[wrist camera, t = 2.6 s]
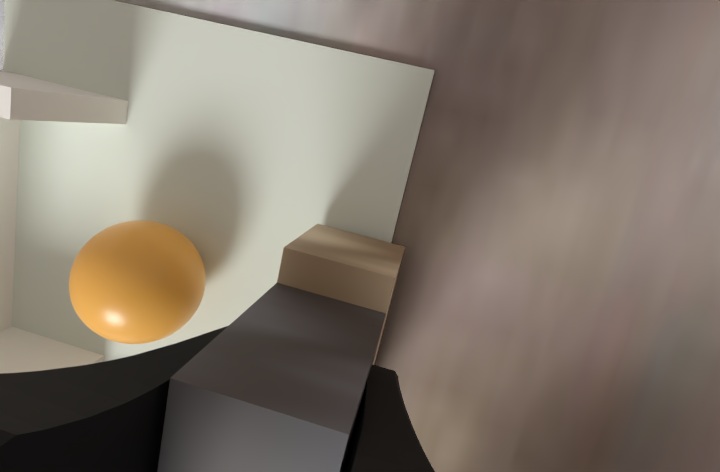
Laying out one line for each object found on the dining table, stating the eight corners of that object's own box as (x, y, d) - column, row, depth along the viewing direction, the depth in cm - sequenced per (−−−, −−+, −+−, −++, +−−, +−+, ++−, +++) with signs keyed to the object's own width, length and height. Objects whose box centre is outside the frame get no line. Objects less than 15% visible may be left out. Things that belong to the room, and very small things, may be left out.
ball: (233, 226, 16) (169, 255, 12) (217, 328, 17) (152, 384, 13) (131, 199, 17) (38, 218, 13) (121, 299, 18) (31, 345, 14)
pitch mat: (434, 71, 14) (434, 70, 14) (313, 549, 19) (312, 553, 19) (10, -22, 16) (5, -24, 16) (-5, 438, 20) (-9, 441, 20)
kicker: (404, 246, 15) (364, 377, 7) (336, 507, 17) (247, 828, 9) (317, 223, 15) (177, 322, 7) (263, 483, 18) (115, 772, 10)
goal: (128, 101, 16) (11, 87, 12) (102, 373, 18) (-2, 445, 14) (2, 70, 16) (-155, 46, 12) (-6, 338, 19) (-138, 397, 15)
